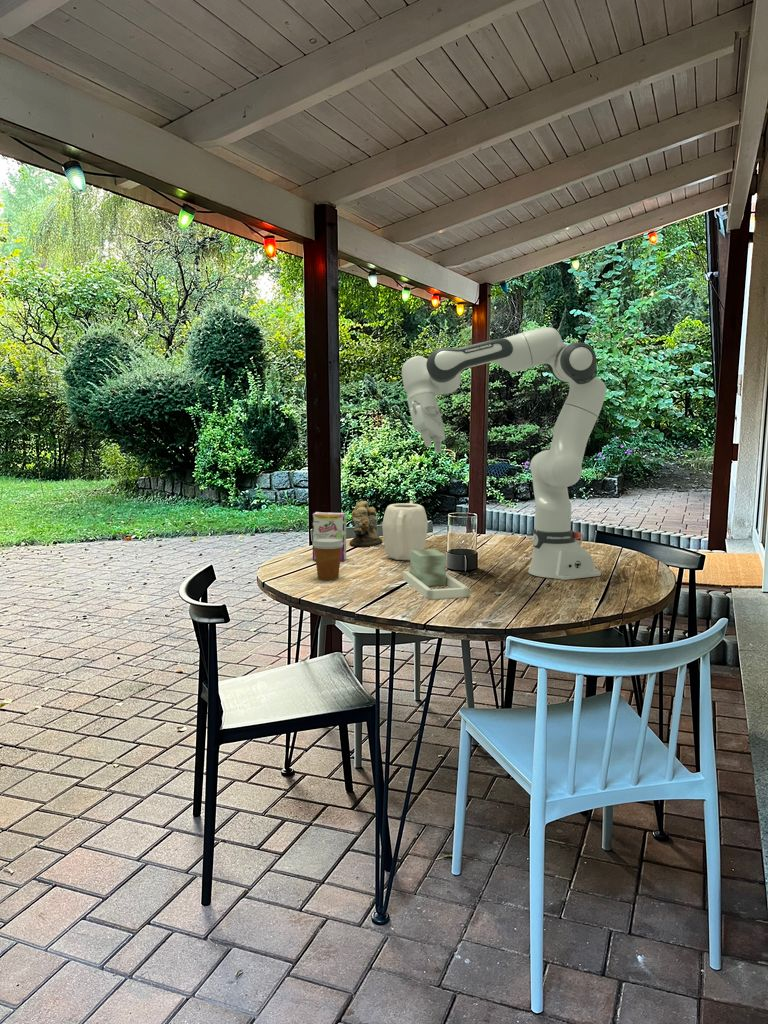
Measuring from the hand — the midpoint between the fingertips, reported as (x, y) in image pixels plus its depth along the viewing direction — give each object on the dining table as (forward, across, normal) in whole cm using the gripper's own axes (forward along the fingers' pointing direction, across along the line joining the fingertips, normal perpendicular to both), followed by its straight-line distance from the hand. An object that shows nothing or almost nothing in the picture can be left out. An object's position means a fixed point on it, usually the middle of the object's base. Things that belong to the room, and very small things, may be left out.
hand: (433, 449), depth 219 cm
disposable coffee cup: (+30, -5, +41) cm, 51 cm away
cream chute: (+41, -3, +9) cm, 42 cm away
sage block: (+38, +2, +12) cm, 40 cm away
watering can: (+24, +34, +29) cm, 51 cm away
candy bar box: (+20, +19, +51) cm, 58 cm away
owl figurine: (+12, +52, +50) cm, 73 cm away
